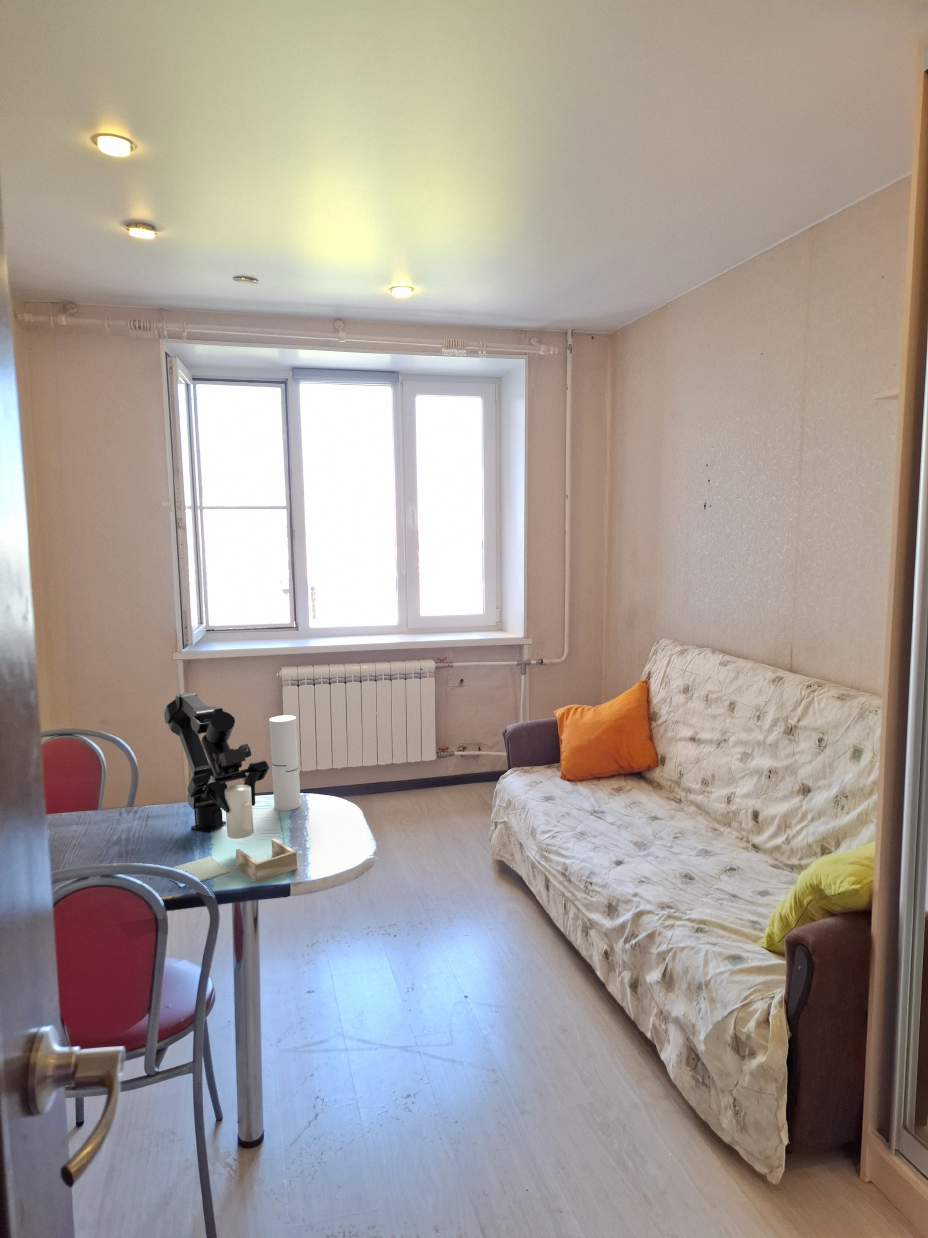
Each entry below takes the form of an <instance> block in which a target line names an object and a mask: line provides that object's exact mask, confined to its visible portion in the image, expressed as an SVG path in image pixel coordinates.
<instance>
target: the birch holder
mask: <svg viewBox="0 0 928 1238" xmlns="http://www.w3.org/2000/svg"><path fill="white" fill-rule="evenodd" d="M271 853H272V854H271V855H272V856H273V857H271V858H268V859H265V860H261V861H257V860H256V859H254V858H253V857H251V856H250V855H249V854H247V853H245V852H244V851H243V850H241V849H240V848H237V849H235V856H236V867H237V868H238V869H240V870H241V871H242V872H243V873H245V874H246V875H247V876H249V877H250V878H251V879H253V880H254V881H255V882H257V883H259V882H262V881H267V880H268V879H271V878H274V877H277V876H279V875H283V874H286V873H289V872H292V871H295V870H297V869H298V860H297V859H298V857H297V851H296V850H294V849H293V848H291V847H289V846H288V845H286V844H284V843H283V842H282V841H279V840H278V839H277V838H271Z"/></svg>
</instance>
